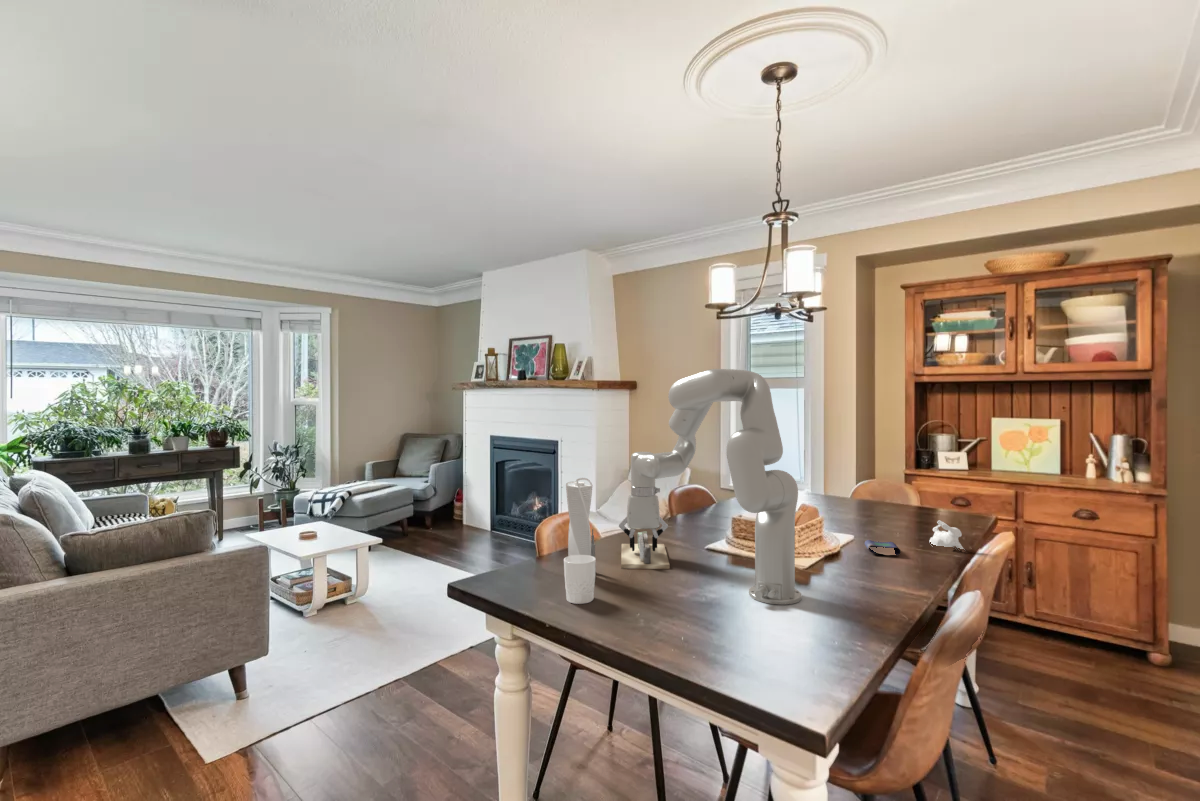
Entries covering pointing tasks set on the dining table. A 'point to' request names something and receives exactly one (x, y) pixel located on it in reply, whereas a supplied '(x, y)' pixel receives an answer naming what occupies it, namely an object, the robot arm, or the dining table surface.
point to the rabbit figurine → (946, 536)
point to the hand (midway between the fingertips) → (643, 549)
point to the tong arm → (641, 546)
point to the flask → (882, 544)
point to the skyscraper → (580, 519)
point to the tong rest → (651, 557)
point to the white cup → (579, 578)
